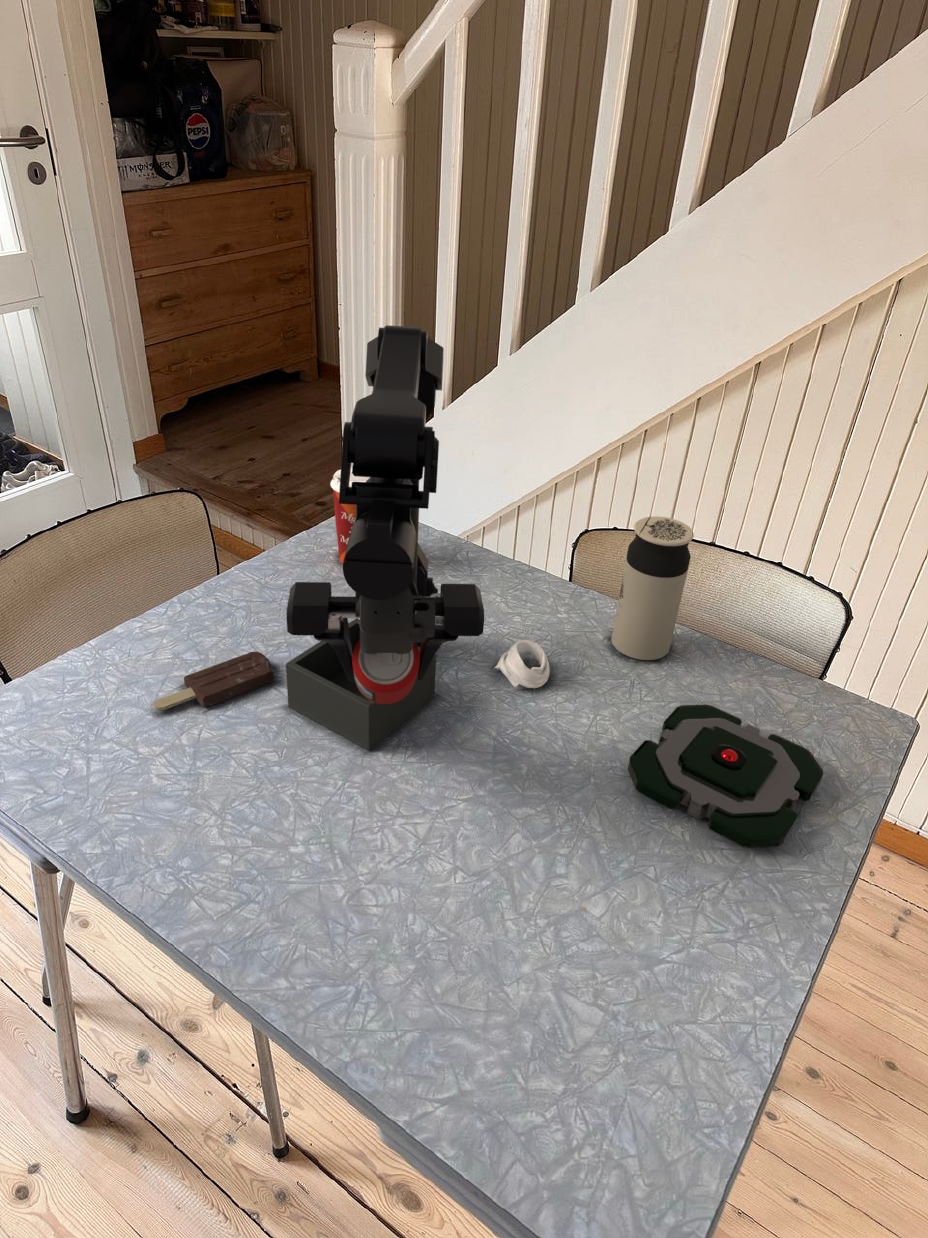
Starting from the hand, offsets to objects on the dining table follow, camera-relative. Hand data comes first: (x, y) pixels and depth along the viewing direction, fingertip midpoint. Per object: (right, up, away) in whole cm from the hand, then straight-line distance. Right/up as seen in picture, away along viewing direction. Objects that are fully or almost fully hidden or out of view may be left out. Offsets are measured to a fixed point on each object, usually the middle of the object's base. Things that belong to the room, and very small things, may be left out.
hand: (385, 678), depth 89 cm
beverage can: (-1, 0, +7) cm, 7 cm away
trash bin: (-4, -4, +17) cm, 18 cm away
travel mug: (+32, +2, +31) cm, 45 cm away
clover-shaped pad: (+37, -12, +9) cm, 40 cm away
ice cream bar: (-22, -3, +17) cm, 28 cm away
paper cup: (-8, +15, +46) cm, 49 cm away
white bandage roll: (+16, -1, +24) cm, 28 cm away
